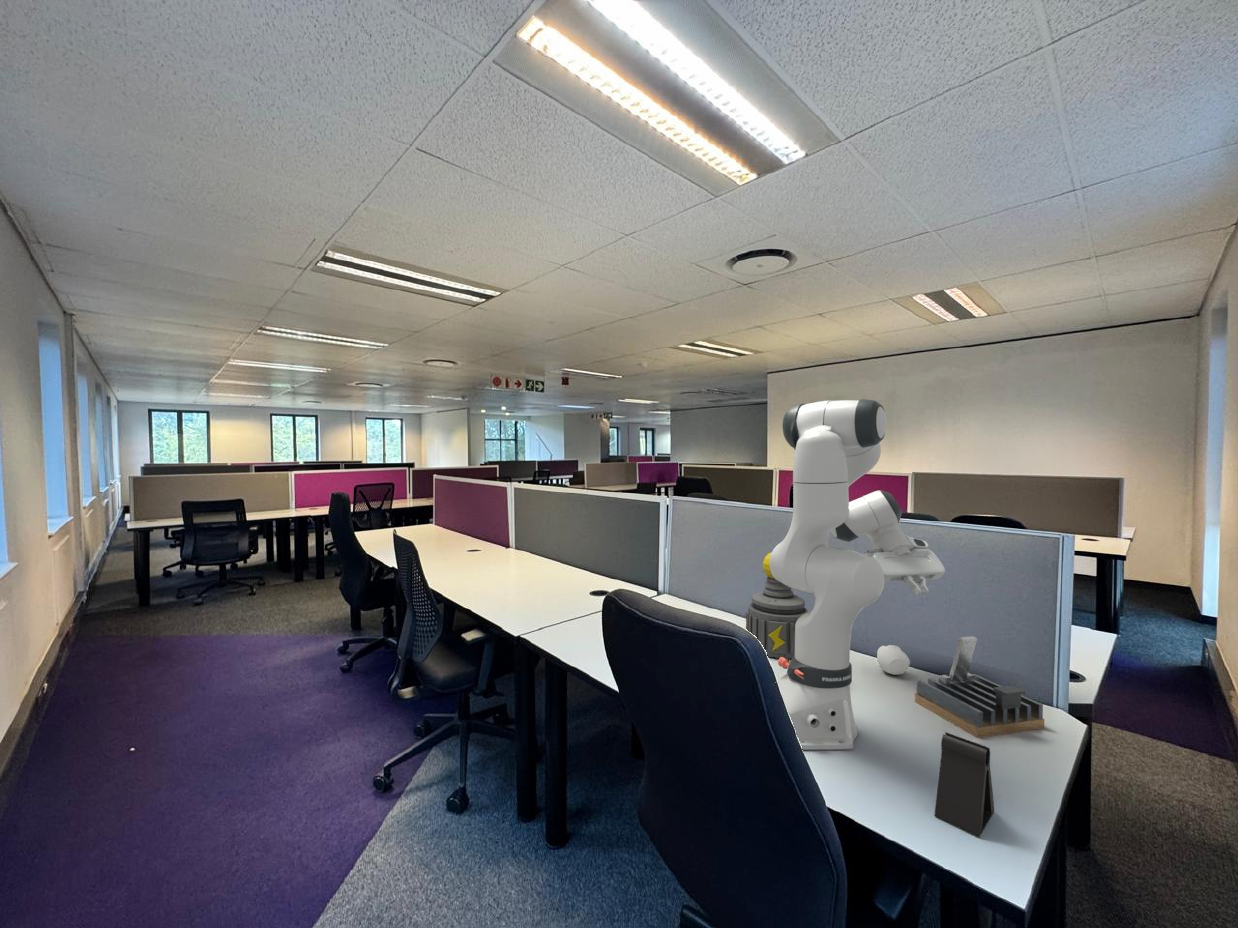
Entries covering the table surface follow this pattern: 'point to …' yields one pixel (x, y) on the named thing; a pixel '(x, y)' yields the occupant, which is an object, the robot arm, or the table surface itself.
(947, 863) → the table surface
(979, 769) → the black coffee bag
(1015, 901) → the table surface
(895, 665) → the motion sensor
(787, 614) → the tesla coil
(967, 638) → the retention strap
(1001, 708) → the heat sink
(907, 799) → the table surface
